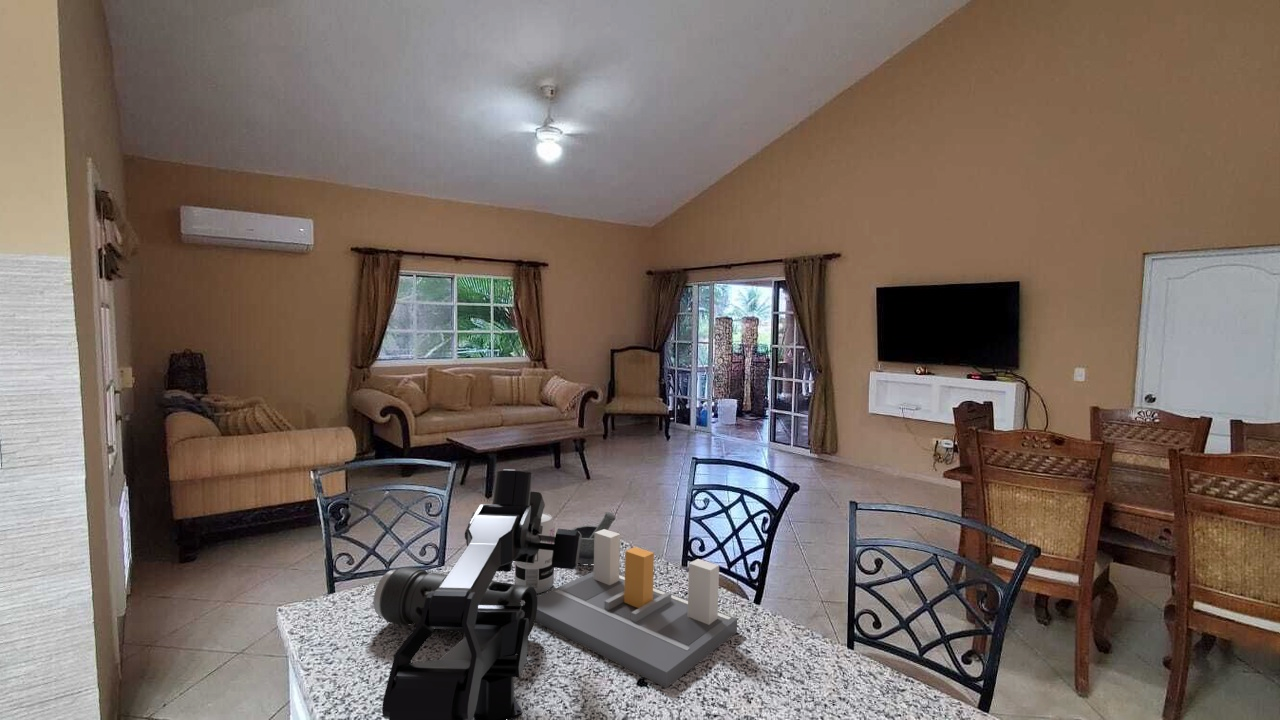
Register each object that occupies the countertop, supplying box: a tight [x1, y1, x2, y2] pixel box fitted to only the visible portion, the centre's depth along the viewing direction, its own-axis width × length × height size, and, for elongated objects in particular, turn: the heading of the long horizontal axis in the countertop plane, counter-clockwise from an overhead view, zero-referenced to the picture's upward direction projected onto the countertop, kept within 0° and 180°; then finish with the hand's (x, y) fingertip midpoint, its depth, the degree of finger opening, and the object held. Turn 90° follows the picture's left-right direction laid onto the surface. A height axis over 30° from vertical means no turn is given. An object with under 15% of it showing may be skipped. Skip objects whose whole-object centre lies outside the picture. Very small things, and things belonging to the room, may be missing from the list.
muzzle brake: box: [372, 566, 538, 637], centre depth 100 cm, size 10×28×10 cm, turn 76°
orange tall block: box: [624, 546, 655, 608], centre depth 107 cm, size 3×5×10 cm, turn 51°
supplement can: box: [514, 512, 556, 595], centre depth 119 cm, size 8×8×15 cm
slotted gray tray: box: [523, 529, 738, 689], centre depth 105 cm, size 22×34×12 cm, turn 51°
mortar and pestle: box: [571, 511, 616, 566], centre depth 134 cm, size 11×9×12 cm
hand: (537, 548), depth 102 cm, fingers open, 9 cm apart
